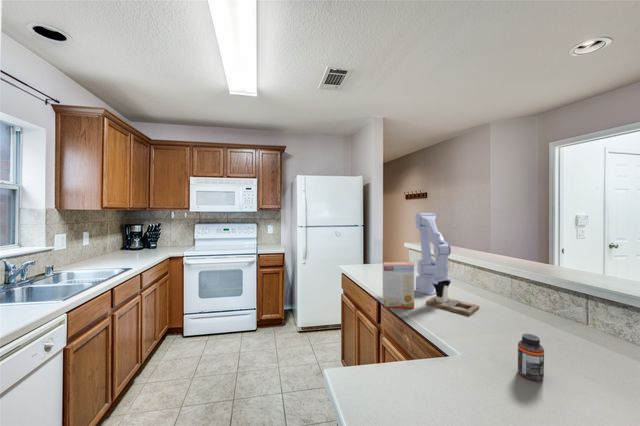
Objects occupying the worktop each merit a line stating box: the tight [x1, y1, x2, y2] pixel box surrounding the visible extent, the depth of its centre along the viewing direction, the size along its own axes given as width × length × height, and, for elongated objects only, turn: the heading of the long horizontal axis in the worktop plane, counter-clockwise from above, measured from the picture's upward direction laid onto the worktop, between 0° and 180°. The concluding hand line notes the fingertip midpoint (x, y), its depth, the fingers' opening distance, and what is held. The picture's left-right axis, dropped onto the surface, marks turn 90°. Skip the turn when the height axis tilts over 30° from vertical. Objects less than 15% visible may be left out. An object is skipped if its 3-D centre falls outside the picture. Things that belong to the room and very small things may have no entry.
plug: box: [435, 285, 449, 304], centre depth 135 cm, size 4×4×8 cm
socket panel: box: [425, 295, 480, 317], centre depth 132 cm, size 20×12×2 cm, turn 43°
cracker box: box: [382, 261, 415, 309], centre depth 133 cm, size 14×6×21 cm, turn 84°
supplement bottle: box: [517, 333, 545, 382], centre depth 79 cm, size 6×6×11 cm
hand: (441, 295), depth 135 cm, fingers closed on plug, 4 cm apart
